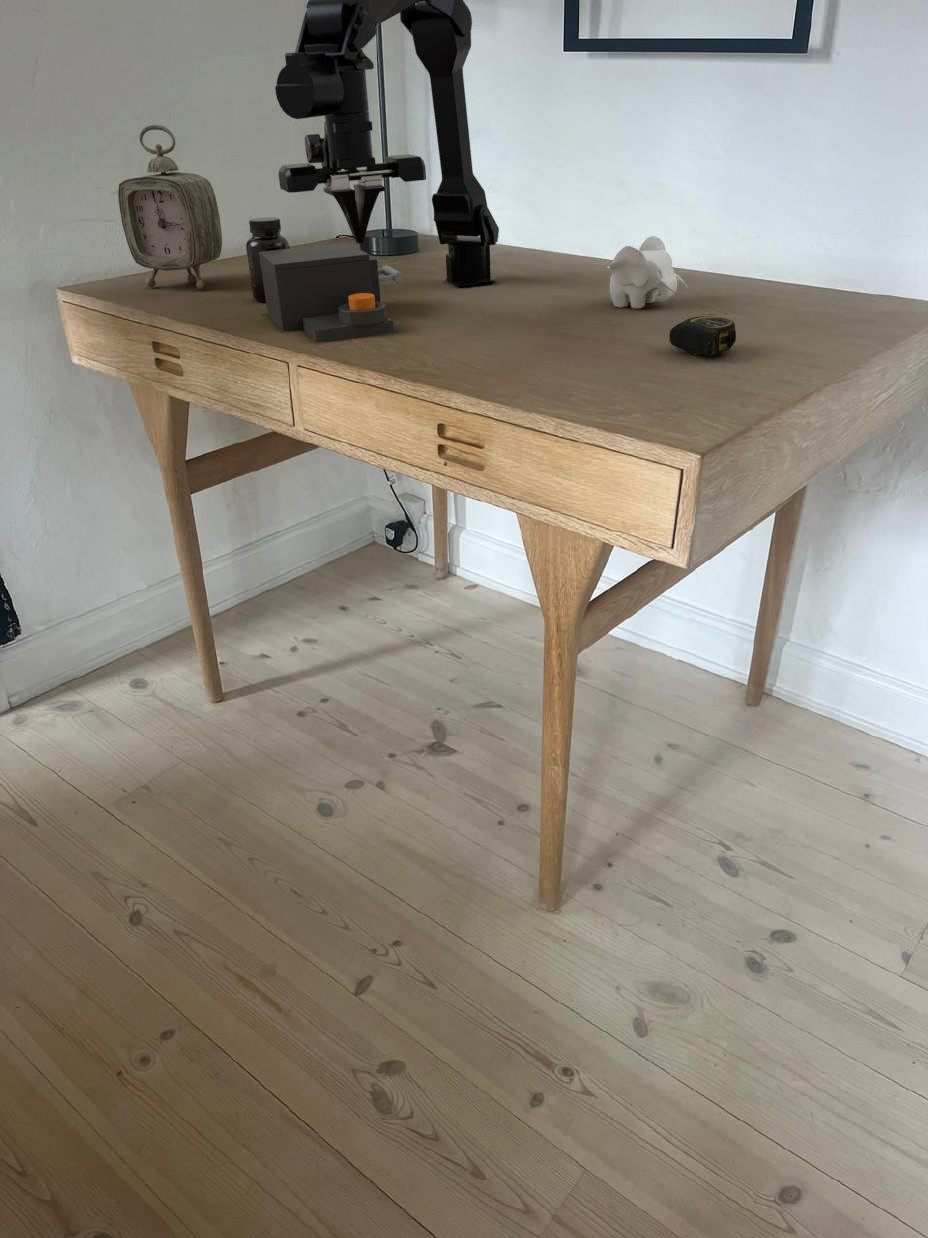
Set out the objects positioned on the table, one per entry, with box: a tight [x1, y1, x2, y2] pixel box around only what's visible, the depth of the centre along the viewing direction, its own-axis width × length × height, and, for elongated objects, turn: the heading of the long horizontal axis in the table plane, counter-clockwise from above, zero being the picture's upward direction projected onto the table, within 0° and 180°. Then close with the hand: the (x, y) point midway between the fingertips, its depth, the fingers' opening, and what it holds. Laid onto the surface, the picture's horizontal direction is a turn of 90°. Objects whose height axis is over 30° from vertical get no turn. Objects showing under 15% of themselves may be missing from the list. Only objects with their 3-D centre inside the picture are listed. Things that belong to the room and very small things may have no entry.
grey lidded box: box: [259, 242, 373, 332], centre depth 135 cm, size 14×12×9 cm
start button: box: [348, 293, 375, 310], centre depth 126 cm, size 4×4×2 cm
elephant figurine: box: [606, 235, 688, 310], centre depth 133 cm, size 10×12×9 cm
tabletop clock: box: [117, 124, 223, 291], centre depth 155 cm, size 14×9×25 cm, turn 68°
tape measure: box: [668, 315, 737, 357], centre depth 112 cm, size 7×7×4 cm
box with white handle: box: [369, 254, 404, 302], centre depth 136 cm, size 17×10×7 cm, turn 111°
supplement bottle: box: [245, 216, 291, 303], centre depth 146 cm, size 7×7×12 cm
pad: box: [302, 301, 394, 343], centre depth 128 cm, size 11×9×4 cm
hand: (359, 242), depth 125 cm, fingers closed
